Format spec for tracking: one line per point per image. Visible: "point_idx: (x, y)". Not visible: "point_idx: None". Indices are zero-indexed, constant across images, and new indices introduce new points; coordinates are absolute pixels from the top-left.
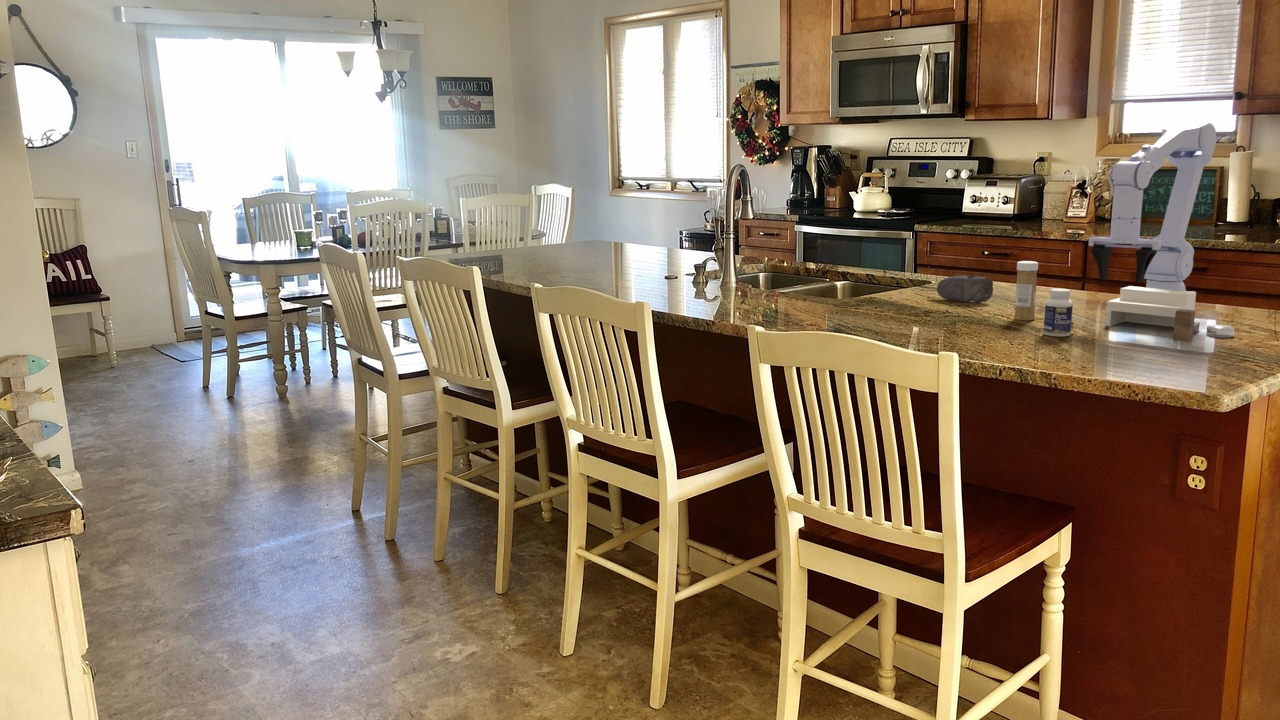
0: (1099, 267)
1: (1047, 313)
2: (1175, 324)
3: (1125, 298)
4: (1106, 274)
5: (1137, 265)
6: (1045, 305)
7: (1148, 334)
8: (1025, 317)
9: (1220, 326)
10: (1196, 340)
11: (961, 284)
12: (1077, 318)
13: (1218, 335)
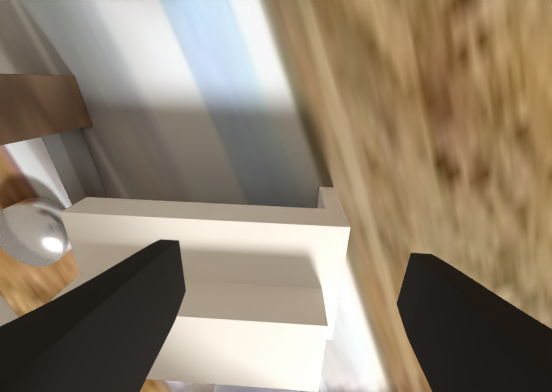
0: (515, 316)
1: None
2: (23, 75)
3: (299, 291)
4: (412, 322)
5: (59, 328)
6: None
7: (172, 121)
8: None
9: (32, 245)
10: None
11: None
12: (439, 254)
13: (26, 199)
